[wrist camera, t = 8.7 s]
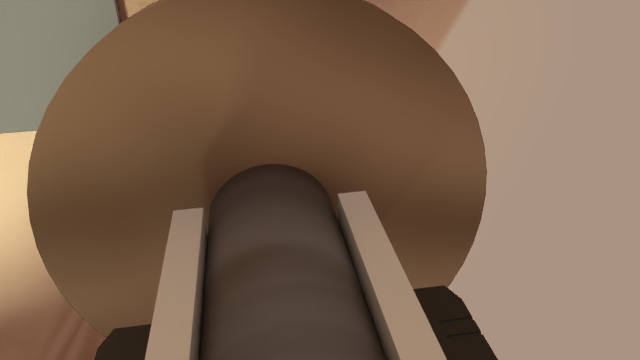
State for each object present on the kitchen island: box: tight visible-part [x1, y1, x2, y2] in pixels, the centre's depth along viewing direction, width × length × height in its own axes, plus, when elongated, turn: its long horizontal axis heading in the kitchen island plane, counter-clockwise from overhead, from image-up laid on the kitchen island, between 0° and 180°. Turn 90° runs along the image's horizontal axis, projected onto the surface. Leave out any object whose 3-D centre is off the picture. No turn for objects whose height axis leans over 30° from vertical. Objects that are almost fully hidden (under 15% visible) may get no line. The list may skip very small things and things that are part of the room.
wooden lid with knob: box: [27, 0, 487, 360], centre depth 12 cm, size 13×13×9 cm
